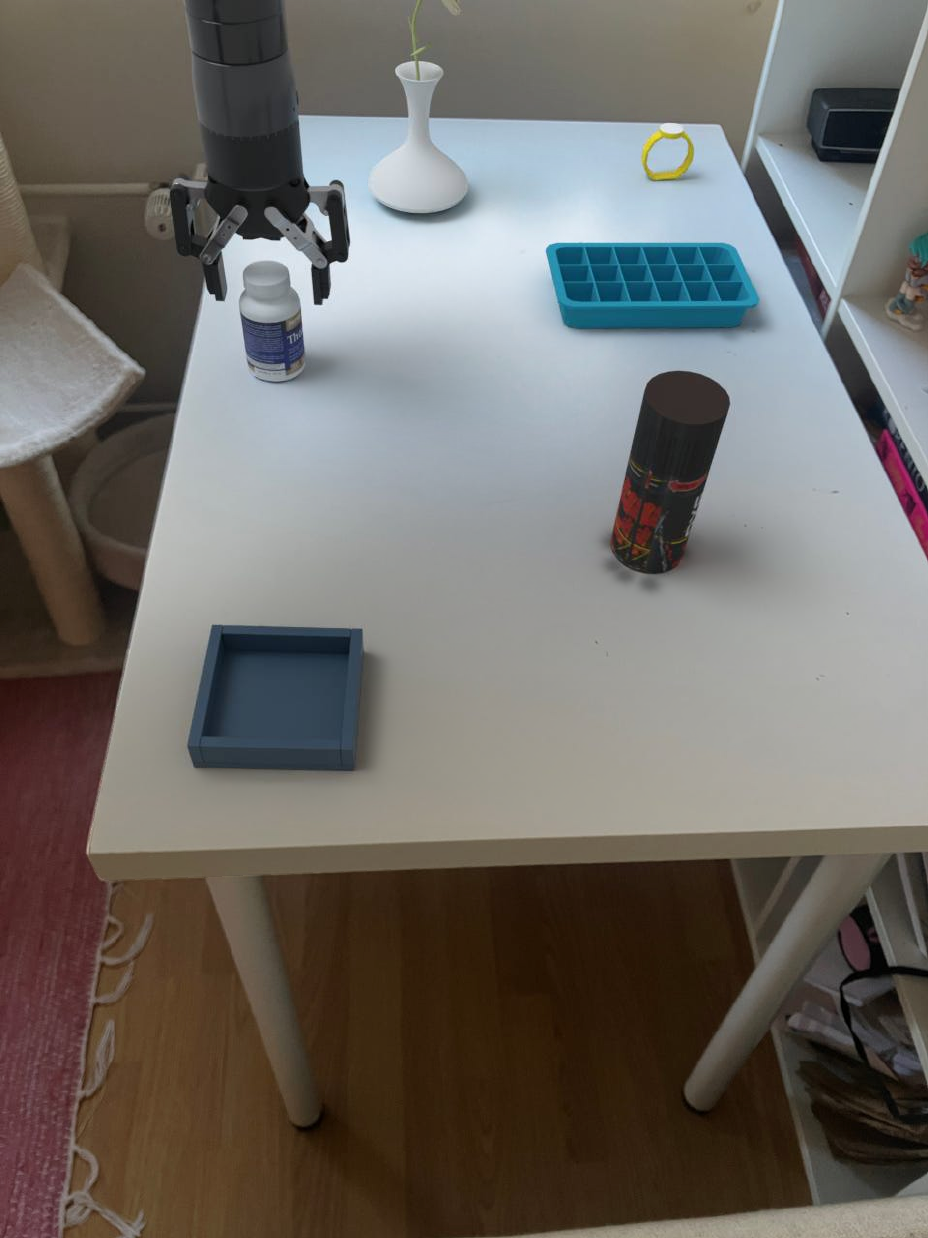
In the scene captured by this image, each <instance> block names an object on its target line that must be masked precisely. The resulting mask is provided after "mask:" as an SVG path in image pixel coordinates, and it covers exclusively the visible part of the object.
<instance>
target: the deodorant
mask: <svg viewBox="0 0 928 1238" xmlns="http://www.w3.org/2000/svg"><path fill="white" fill-rule="evenodd" d="M641 400H642V401H641V404H640V408H639V413H638V417H637V422H636V426H635V430H634V436H633V439H632V444H631V447H630V453H629V457H628V462H627V465H626V470H625V474H624V479H623V482H622V483H623V484H622V487H621V492H620V498H619V501H618V506H617V509H616V514H615V519H614V523H613V527H612V531H611V532H612V533H611V538H610V548H611V551H612V554H613V555H614V556H615V558H616V559H617V560H618V561H619V562H620V563H621V564H623V566H625V567H627V568H628V569H630V570H633V571H634V572H640V573H642V574H652V575H654V574H655V575H656V574H662V573H663V574H664V573H666V572H669V571H671V570H673V569H675V568H676V567H677V566H678V565H679V564H680V563H681V561H682V560H683V558H684V553H685V552H686V548H687V545H688V542H689V539H690V535H691V532H692V528H693V525H694V522H695V519H696V515H697V513H698V510H699V506H700V503H701V500H702V498H703V497H702V496H703V493H704V490H705V487H706V484H707V481H708V477H709V473H710V472H711V471H710V470H711V468H712V465H713V461H714V458H715V455H716V452H717V448H718V445H719V442H720V439H721V435H722V433H723V430H724V426H725V422H726V419H727V417H728V413H729V410H730V406H731V399H730V396H729V394H728V392H727V390H726V389H725V388H724V387H723V386H722V385H721V384H720V383H719V382H717V381H715V380H714V379H713V378H711V377H709V376H707V375H704V374H701V373H698V372H693V371H690V370H689V371H688V370H670V371H665V372H661V373H658V374H657V375H655V376H653V377H651V378H650V379H649V381H647V382H646V385H645V388H644V391H643V395H642V399H641Z"/></svg>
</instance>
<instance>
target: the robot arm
mask: <svg viewBox="0 0 928 1238" xmlns="http://www.w3.org/2000/svg"><path fill="white" fill-rule="evenodd" d="M182 3H183V10H184V16H185V23H186V29H187V35H188V41H189V46H190V55H191V58H190V59H191V80H192V89H193V94H194V101H195V106H196V114H197V119H198V125H199V126H198V127H199V132H200V138H201V145H202V150H203V151H202V152H203V156H204V163H205V168H206V169H205V170H206V175H207V179H206V180H207V181H198V180H191V179H190V177H189V176H188V175H187V174H185V173H182V172H180V173H177V174H176V175H175V177H174V180H173V182H172V184H171V188H170V191H169V200H170V201H169V202H170V208H171V216H172V223H173V232H174V239H175V246H176V252H177V253H178V254H179V255H180V256H181V257H186V258H187V257H189V256H192V257H195V258H196V259H198V260H199V261H200V262H201V264H202V270H203V275H204V281H205V287H206V290H207V292H208V294H209V295H212V296H213V295H214V299H215V301H216V302H226V298H227V294H228V282H227V277H226V270H225V264H224V262H225V261H224V257H223V251H222V250H224V249H225V248H226V247H227V246H228V244H229V242H230V241H231V239H232V238H233V236H234V235H235V234H236V235H237V236H240V237H242V240H246V241H247V240H248V241H249V240H250V241H253V240H257V239H265V240H268V241H274V242H276V241H278V242H280V241H281V240H282V238H286V239H287V241H288V242H289V243H290V244H291V245H292V246H293V247H294V249H295V250H296V251H297V252H302V253H303V255H304V256H305V257H306V258H307V259H308V260H309V261H310V262H311V265H310V266H311V267H310V274H311V275H310V276H311V284H312V285H311V287H312V297H313V298H312V299H313V305H314V306H323V304H324V300H329V296H330V295H331V287H332V281H331V278H332V277H331V264H332V263H336V262H337V263H340V264H341V263H346V262H347V261H348V259H349V250H350V246H351V235H350V234H351V233H350V228H349V227H350V226H349V219H348V209H347V203H346V202H347V201H346V192H345V186H344V183H343V182H342V180H339V179H333V180H331V181H330V182H329V184H328V185H310V184H309V182H308V181H307V179H306V177H305V174H304V165H303V156H302V155H303V154H302V153H303V152H302V142H301V131H300V130H301V128H300V118H299V117H300V116H299V108H298V107H299V105H300V101H299V93H298V90H297V83H296V76H295V75H296V74H295V70H294V65H293V60H292V55H291V51H290V44H289V31H288V22H287V21H288V20H287V9H286V0H182ZM203 199H204V200H205V201H206V203H207V204H208V205H209V206H210V208H211V209H212V210H213V211H214V212H215V213H216V214H217V216H218V217H217V218H216V220H215V223H214V224H213V226H212V227H211V229H210V231H209V232H208V234H207V235H206V236H204V235H203V236H202V235H200V234H197V229H196V221H195V213H194V211H196V210H197V209H198V207H199V204H200V201H201V200H203ZM310 204H314V205H316V206H317V208H318V210H319V212H320V213H321V215H323V216H324V217H328V223H329V229H330V237H331V238H330V239H331V240H328V241H327V240H326V239H325V237H323V235H322V234H321V233H320V232H319V231H318V230H317V228H316V226H315V224H314V222H313V220H312V219H311V217H309V216H308V214H307V213H306V211H307V210H308V207H309V206H310Z"/></svg>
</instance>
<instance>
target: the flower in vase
mask: <svg viewBox="0 0 928 1238" xmlns="http://www.w3.org/2000/svg"><path fill="white" fill-rule="evenodd" d="M440 1H441V2H442V4H443V5H444V7H445V8H446V9H447V10H448V11H449V13H450V14H452V15H453V16H455V17H457V16H458V15H461V12H462V10H461V8H460V6H459V5H458V3H461V1H460V0H440ZM422 3H423V0H417V3H416V5H415V9H414V11H413V14H412V19H411V17H409V16H408V17H407V22H408V26H409V30H410V32H411V41H412V50H413V52H412V53H410V57H412V56H413V57H414V60H413V61H411V60H410V61H406V62H403V63H401V64H399V65H397V66H396V67H395V71H394V72H395V75H396V76H397V78H398V79H399V80H400V82H401V84H402V87H403V89H404V92H405V98H406V104H407V112H408V113H407V115H408V116H407V117H408V128H407V135H406V138H405V141H403V143H402V144H401V145H400V146H398V147H397V148H396V149H394V150H393V151H391V152H390V153H389V154H387V155H386V156H385V157H383V158H382V159H380V161H378V162H377V164H375V166H374V167H373V168H372V169H371V171H370V174H369V176H368V180H367V187H368V190H369V192H370V193H371V194H372V196H373V197H374V198H375V199H376V200H377V201H378V202H379V203H380V204H382V205H383V206H385V207H387V208H390V209H392V210H396V211H400V212H405V213H411V214H412V213H413V214H428V213H429V214H430V213H438V212H442V211H445V210H448V209H450V208H452V207H454V206H456V205H458V204H459V203H460V202H461V201H462V200H463V199H464V197H465V196H466V194H467V193H468V191H469V181H468V179H467V176H466V174H465V172H464V170H463V169H462V168H461V167H460V165H458V164H457V163H456V162H455V161H454V160H453V159H452V158H451V157H450V156H449V155H447V154H446V153H445V152H443V151H441V150H440V149H439V148H438V147H437V146H436V145H435V144H434V143H433V141H432V139H431V134H430V111H431V105H432V104H431V103H432V99H433V95H434V92H435V89H436V86H437V85H438V82H439V81H440V80H441V78H442V77H443V76H444V70H443V68H442V67H440V66H439V65H438V64H435V63H433V62H428V61H422V60H419V56H418V54H420V53H422V52H424V51H425V50H427V49H429V48H433V47H434V46H435V45H434V44H433V43H432V42H430V41H429V42H428V43H427V44H426V45H425V46H423V47H421V48H418V49H417V44H420V40H419V37H418V36H419V35H418V34H417V32H416V21H417V16H418V13H419V10H420V7H421V4H422Z"/></svg>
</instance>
